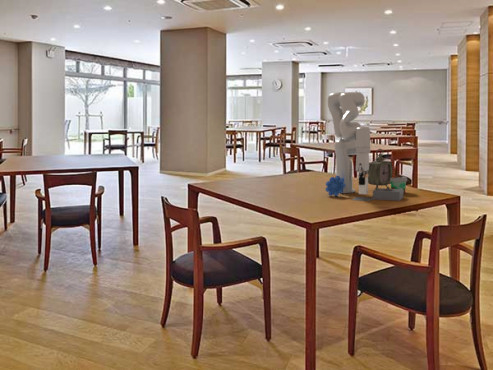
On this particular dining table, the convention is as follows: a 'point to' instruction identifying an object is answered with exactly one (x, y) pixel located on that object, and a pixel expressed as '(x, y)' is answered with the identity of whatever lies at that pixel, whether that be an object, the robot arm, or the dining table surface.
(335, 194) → the blue gear
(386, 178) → the tabletop clock
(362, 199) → the mat
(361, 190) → the plug
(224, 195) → the dining table surface
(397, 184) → the food container
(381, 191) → the grey rectangular box
